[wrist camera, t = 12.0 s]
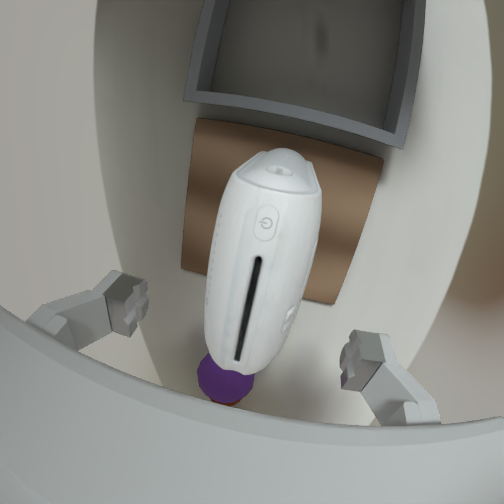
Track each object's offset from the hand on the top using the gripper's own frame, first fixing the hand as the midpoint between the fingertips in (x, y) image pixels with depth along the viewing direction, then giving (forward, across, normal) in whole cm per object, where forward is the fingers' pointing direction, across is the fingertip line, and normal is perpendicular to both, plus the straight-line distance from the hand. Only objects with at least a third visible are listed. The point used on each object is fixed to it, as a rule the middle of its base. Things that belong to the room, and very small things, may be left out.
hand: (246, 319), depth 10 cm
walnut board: (+13, 0, +1) cm, 13 cm away
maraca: (+13, 0, +25) cm, 28 cm away
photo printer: (+13, 0, 0) cm, 13 cm away
